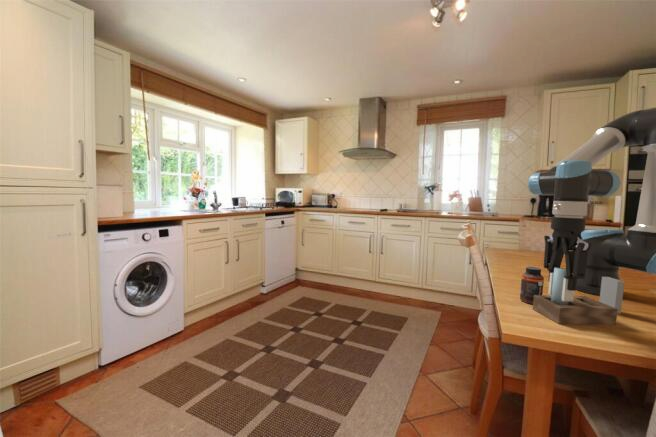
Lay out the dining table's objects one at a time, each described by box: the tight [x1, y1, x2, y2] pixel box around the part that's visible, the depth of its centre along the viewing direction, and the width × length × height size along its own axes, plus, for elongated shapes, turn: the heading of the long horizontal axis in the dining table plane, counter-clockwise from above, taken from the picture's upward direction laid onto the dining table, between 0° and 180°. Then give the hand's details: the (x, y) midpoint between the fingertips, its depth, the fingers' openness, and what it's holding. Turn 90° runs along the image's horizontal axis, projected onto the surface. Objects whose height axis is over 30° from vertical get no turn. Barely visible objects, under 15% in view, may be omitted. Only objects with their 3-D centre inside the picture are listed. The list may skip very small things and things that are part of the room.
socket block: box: [532, 294, 618, 326], centre depth 86 cm, size 16×10×4 cm, turn 91°
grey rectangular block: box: [598, 277, 625, 315], centre depth 91 cm, size 2×5×10 cm, turn 1°
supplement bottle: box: [519, 266, 545, 305], centre depth 97 cm, size 6×6×11 cm
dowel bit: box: [551, 267, 569, 305], centre depth 86 cm, size 4×4×13 cm
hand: (560, 297), depth 86 cm, fingers open, 4 cm apart
